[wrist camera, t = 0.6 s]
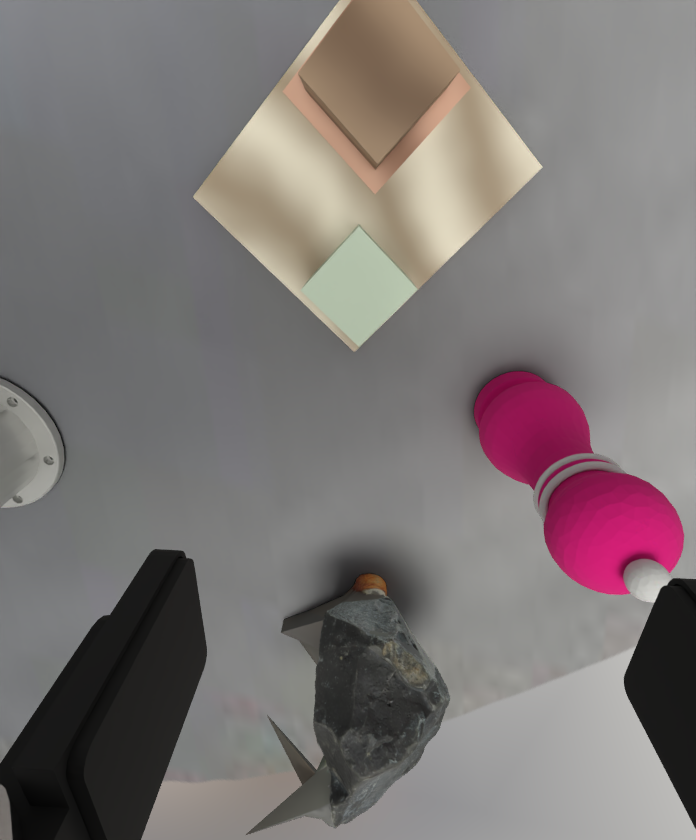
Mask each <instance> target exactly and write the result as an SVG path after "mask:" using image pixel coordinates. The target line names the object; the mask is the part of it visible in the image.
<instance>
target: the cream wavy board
mask: <svg viewBox="0 0 696 840" xmlns="http://www.w3.org/2000/svg"><path fill="white" fill-rule="evenodd" d="M352 1H353V0H340V1H339V2H338V3H337V5H336V6H335V7H334V9H333V10H332V11H331V13H330V14H329V15H328V17H327V18H326V19H325V21H324V22H323V23H322V25H321V26H320V27H319V29H318V30H317V31H316V33H315V34H314V35H313V37H312V38H311V39H310V41H309V42H308V43H307V45H306V46H305V47H304V49H303V50H302V51H301V53H300V54H299V55H298V57H297V58H296V59H295V61H294V62H293V63H292V65H291V66H290V67H289V69H288V70H287V71H286V73H285V74H284V76H283V77H282V78H281V80H280V81H279V82H278V84H277V85H276V86H275V88H274V89H273V90H272V92H271V93H270V94H269V96H268V97H267V98H266V100H265V101H264V102H263V104H262V105H261V106H260V108H259V109H258V110H257V112H256V113H255V114H254V116H253V117H252V118H251V120H250V121H249V122H248V124H247V125H246V126H245V128H244V129H243V130H242V132H241V133H240V134H239V136H238V137H237V138H236V140H235V141H234V142H233V144H232V145H231V146H230V148H229V149H228V150H227V152H226V153H225V154H224V156H223V157H222V158H221V160H220V161H219V163H218V164H217V165H216V167H215V168H214V169H213V171H212V172H211V173H210V175H209V176H208V177H207V179H206V180H205V181H204V183H203V184H202V185H201V187H200V188H199V189H198V191H197V192H196V193H195V195H194V196H193V198H194V199H195V200H196V201H197V202H198V203H200V204H201V205H202V206H203V207H204V208H205V209H206V210H207V211H208V212H209V213H210V214H211V215H212V216H213V217H214V218H215V219H216V220H217V221H218V222H219V223H220V224H221V225H222V226H224V227H225V228H226V229H227V230H228V231H229V232H230V233H231V234H232V235H233V236H234V237H235V238H236V239H237V240H238V241H239V242H240V243H241V244H242V245H243V246H244V247H245V248H246V249H247V250H249V251H250V252H251V253H252V254H253V255H254V256H255V257H256V258H257V259H258V260H259V261H260V262H261V263H262V264H263V265H264V266H265V267H266V268H267V269H268V270H269V271H270V272H271V273H272V274H274V275H275V276H276V277H277V278H278V279H279V280H280V281H281V282H282V283H283V284H284V285H285V286H286V287H287V288H288V289H289V290H290V291H291V292H292V293H293V294H294V295H295V296H296V297H297V298H299V299H300V300H301V301H302V302H303V303H304V304H305V305H306V306H307V307H308V308H309V309H310V310H311V311H312V312H313V313H314V314H315V315H316V316H317V317H318V318H319V319H320V320H321V321H322V322H324V323H325V324H326V325H327V326H328V327H329V328H330V329H331V330H332V331H333V332H334V333H335V334H336V335H337V336H338V337H339V338H340V339H341V340H342V341H343V342H344V343H345V344H346V345H347V346H349V347H350V348H351V349H352V350H353V351H354V352H355V351H356V350H357V349H358V348H359V347H358V346H357V345H356V344H355V343H354V342H353V341H352V340H351V339H350V338H349V337H348V336H347V335H346V334H345V333H344V332H343V331H342V330H341V329H340V328H339V327H338V326H337V325H336V324H335V323H334V322H333V321H332V320H331V319H330V318H328V317H327V316H326V315H325V314H324V313H323V312H322V311H321V310H320V309H319V308H318V307H317V306H316V305H315V304H314V303H313V302H312V301H311V300H310V299H309V298H308V297H307V296H306V295H305V294H304V293H303V292H302V291H301V289H302V288H303V286H304V285H305V284H306V282H307V281H308V280H309V278H310V277H311V276H312V275H313V274H314V273H315V272H316V271H317V270H318V268H319V267H320V266H321V265H322V264H323V263H324V262H325V261H326V260H327V259H328V257H329V256H330V255H331V254H332V253H333V252H334V251H335V250H336V249H337V248H338V246H339V245H340V244H341V243H342V242H343V241H344V240H345V239H346V238H347V237H348V235H349V234H350V233H351V232H352V231H353V230H354V229H355V228H356V227H357V226H358V224H359V225H360V226H361V227H362V228H363V229H364V230H365V231H366V232H367V233H368V234H369V235H370V236H371V238H372V239H373V240H374V241H375V242H376V243H377V244H378V245H379V246H380V247H381V248H382V249H383V250H384V251H385V253H386V254H387V255H388V256H389V257H390V258H391V259H392V260H393V261H394V262H395V263H396V264H397V265H398V266H399V268H400V269H401V270H402V271H403V272H404V273H405V274H406V275H407V276H408V277H409V278H410V280H411V281H412V282H413V284H414V285H415V286H416V288H417V289H419V288H420V287H421V286H422V285H423V284H424V283H425V282H426V281H427V280H428V279H429V278H430V277H431V276H432V275H433V274H434V273H435V272H436V271H437V270H439V269H440V268H441V267H442V266H443V265H444V264H445V263H446V262H447V261H448V260H449V259H450V258H451V257H452V256H453V255H454V254H455V253H456V252H457V251H458V250H459V249H460V248H461V247H462V246H463V245H464V244H465V243H466V242H467V241H468V240H469V239H470V238H471V237H472V236H473V235H474V234H475V233H476V232H477V231H478V230H479V229H480V228H481V227H482V226H483V225H484V224H485V223H486V222H487V221H488V220H489V219H490V218H491V217H492V216H493V215H494V214H495V213H497V212H498V211H499V210H500V209H501V208H502V207H503V206H504V205H505V204H506V203H507V202H508V201H509V200H510V199H511V198H512V197H513V196H514V195H515V194H516V193H517V192H518V191H519V190H520V189H521V188H522V187H523V186H524V185H525V184H526V183H527V182H528V181H529V180H530V179H531V178H532V177H533V176H534V175H535V174H536V173H537V172H538V171H539V170H540V169H541V168H542V166H541V165H540V163H539V162H538V161H537V159H536V158H535V157H534V155H533V154H532V153H531V151H530V150H529V149H528V148H527V146H526V145H525V144H524V142H523V141H522V140H521V138H520V137H519V136H518V134H517V133H516V132H515V130H514V129H513V128H512V126H511V125H510V124H509V122H508V121H507V120H506V118H505V117H504V116H503V114H502V113H501V112H500V110H499V109H498V108H497V106H496V105H495V104H494V103H493V101H492V100H491V99H490V97H489V96H488V95H487V93H486V92H485V91H484V89H483V88H482V87H481V85H480V84H479V83H478V81H477V80H476V79H475V77H474V76H473V75H472V73H471V72H470V71H469V69H468V68H467V67H466V65H465V64H464V63H463V62H462V60H461V59H460V58H459V56H458V55H457V54H456V52H455V51H454V50H453V48H452V47H451V46H450V44H449V43H448V42H447V40H446V39H445V38H444V36H443V35H442V34H441V32H440V31H439V30H438V28H437V27H436V26H435V24H434V23H433V22H432V20H431V19H430V18H429V17H428V15H427V14H426V13H425V11H424V10H423V9H422V7H421V6H420V5H419V3H418V2H417V1H416V0H408V1H409V3H410V4H411V5H412V7H413V8H414V9H415V10H416V12H417V13H418V14H419V16H420V17H421V18H422V20H423V21H424V22H425V24H426V25H427V26H428V28H429V29H430V30H431V31H432V33H433V34H434V35H435V37H436V38H437V39H438V41H439V42H440V43H441V45H442V46H443V47H444V49H445V50H446V51H447V52H448V54H449V55H450V56H451V58H452V59H453V60H454V62H455V63H456V64H457V66H458V67H459V68H460V71H459V73H458V74H457V75H456V77H455V78H454V80H453V81H452V82H451V84H450V85H449V86H448V88H447V89H446V90H445V91H444V92H443V94H442V95H441V96H440V97H439V98H438V99H437V100H436V102H435V103H434V104H433V105H432V106H431V107H430V108H429V109H428V111H427V112H426V113H425V114H424V115H423V116H422V117H421V119H420V120H419V121H418V122H417V123H416V124H415V125H414V126H413V128H412V129H411V130H410V131H409V132H408V133H407V134H406V136H405V137H404V138H403V139H402V140H401V141H400V142H399V144H398V145H397V146H396V147H395V148H394V149H393V150H392V151H391V153H390V154H389V155H388V156H387V157H386V158H385V159H384V161H383V162H382V163H381V164H380V165H379V166H378V167H377V168H376V170H375V169H374V168H373V167H372V165H371V164H370V163H369V162H368V161H367V160H366V159H365V157H364V156H363V155H362V154H361V153H360V152H359V151H358V150H357V148H356V147H355V146H354V145H353V144H352V143H351V142H350V140H349V139H348V138H347V137H346V136H345V135H344V134H343V133H342V131H341V130H340V129H339V128H338V127H337V126H336V125H335V123H334V122H333V121H332V120H331V119H330V118H329V117H328V116H327V114H326V113H325V112H324V111H323V110H322V109H321V108H320V106H319V105H318V104H317V103H316V102H315V101H314V100H313V99H312V97H311V96H310V95H309V94H308V93H307V92H306V90H305V88H304V86H303V84H302V81H301V79H300V77H299V75H298V72H299V71H300V69H301V68H302V67H303V66H304V64H305V63H306V62H307V60H308V59H309V58H310V56H311V55H312V54H313V52H314V51H315V50H316V48H317V47H318V46H319V44H320V43H321V42H322V40H323V39H324V38H325V36H326V35H327V34H328V32H329V31H330V30H331V28H332V27H333V26H334V25H335V23H336V22H337V21H338V19H339V18H340V17H341V15H342V14H343V13H344V11H345V10H346V9H347V7H348V6H349V5H350V3H351V2H352ZM407 300H408V299H407ZM407 300H406V301H407ZM406 301H405V302H406ZM405 302H404V303H405ZM404 303H403V304H404ZM403 304H402V305H403ZM402 305H401V306H402ZM401 306H400V307H401ZM400 307H399V308H400ZM399 308H398V309H399ZM398 309H397V310H398ZM397 310H396V311H397ZM396 311H395V312H396ZM395 312H394V313H395ZM394 313H393V314H394ZM393 314H392V315H393ZM392 315H391V316H392ZM391 316H390V317H391ZM390 317H389V318H390ZM389 318H388V319H389ZM388 319H387V320H388ZM387 320H386V321H387ZM386 321H385V322H386ZM385 322H384V323H385ZM384 323H383V324H384ZM383 324H382V325H383ZM382 325H381V326H382ZM381 326H380V327H381Z"/></svg>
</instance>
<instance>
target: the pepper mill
mask: <svg viewBox="0 0 696 840" xmlns="http://www.w3.org/2000/svg"><path fill="white" fill-rule="evenodd" d="M474 418H475V421H476V424H477V426H478V428H479V437H480V443H481V446H482V449H483V451H484V453H485V454H486V456H487V457H488V459H489V460H490V461H491V463H492V464H493V465H494V466H495V467H496V468H497V469H498V470H500V471H501V472H503V473H504V474H505V475H507V476H509V477H511V478H513V479H514V480H517V481H519V482H522V483H525V484H529V485H530V486H531V487H532V489H533V490H534V495H533V499H534V505H535V508H536V511H537V513H538V514H539V516H540V517H541V519H542V521H543V523H544V536H545V542H546V545H547V547H548V549H549V552H550V554H551V556H552V558H553V559H554V560H555V562H556V563H557V564H558V566H559V567H560V568H561V569H562V570H563V571H564V572H565V573H566V574H567V575H568V576H569V577H570V578H571V579H573V580H574V581H576V582H577V583H579V584H580V585H582V586H585V587H587V588H589V589H592V590H594V591H597V592H601V593H606V594H617V595H623V594H629V593H631V594H632V595H633V596H634V597H636V598H638V599H640V600H642V601H645V602H655V601H656V598H657V596H658V593H659V591H660V589H661V588H662V587H663V586H664V585H668V583H669V581H670V580H672V578H671V576H670V574H669V573H670V572H671V571H672V570H673V568H674V567H675V566H676V564H677V562H678V560H679V558H680V557H681V553H682V550H683V542H684V533H683V528H682V524H681V521H680V518H679V516H678V514H677V512H676V510H675V508H674V507H673V506H672V504H671V503H670V502H669V501H668V499H667V498H666V497H665V495H664V494H663V493H662V492H660V491H659V490H658V489H656V488H655V487H654V486H653V485H651V484H650V483H648V482H646V481H644V480H642V479H640V478H638V477H635V476H632V475H629V474H627V473H626V472H625V471H623V470H622V469H621V468H620V467H619V465H618V464H616V463H615V462H614V461H613V460H611V459H610V458H607V457H605V456H602V455H599V454H594V453H593V451H592V449H591V446H590V431H589V425H588V423H587V420H586V417H585V414H584V412H583V410H582V408H581V407H580V405H579V404H578V403H577V402H576V401H575V399H574V398H573V397H572V396H571V395H570V394H569V393H568V392H567V391H565V390H563V389H562V388H560V387H558V386H556V385H553V384H550V383H546V382H545V381H544V380H543V379H542V378H540V377H539V376H537V375H535V374H532V373H529V372H523V371H514V372H509V373H505V374H502V375H500V376H498V377H496V378H494V379H493V380H491V381H490V382H489V383H488V384H486V386H485V387H484V388H483V389H482V390H481V392H480V393H479V395H478V397H477V399H476V402H475V406H474Z"/></svg>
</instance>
